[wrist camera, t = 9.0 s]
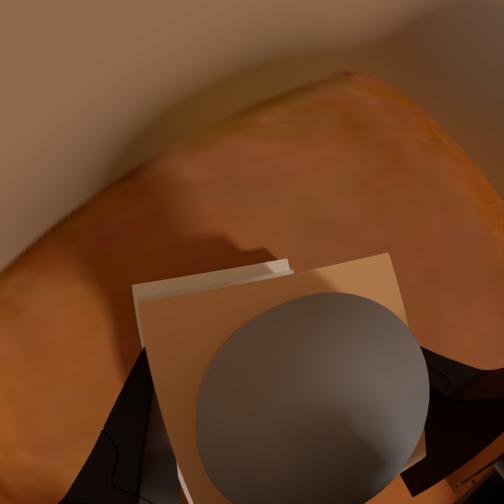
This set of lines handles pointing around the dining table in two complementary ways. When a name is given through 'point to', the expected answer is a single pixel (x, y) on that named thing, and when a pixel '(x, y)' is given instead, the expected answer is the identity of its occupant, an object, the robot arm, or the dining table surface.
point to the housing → (203, 284)
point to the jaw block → (290, 385)
